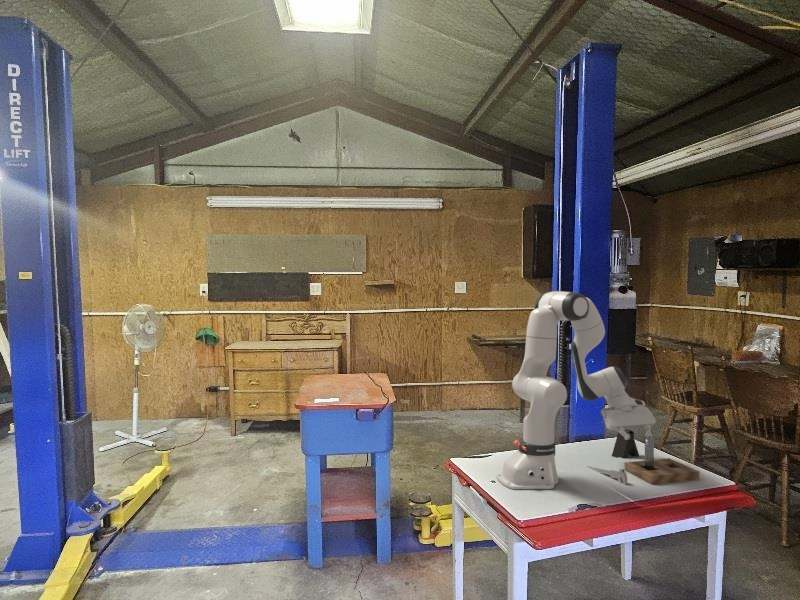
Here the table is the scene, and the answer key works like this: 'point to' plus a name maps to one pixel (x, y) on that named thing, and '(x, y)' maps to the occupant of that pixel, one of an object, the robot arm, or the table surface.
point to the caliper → (613, 474)
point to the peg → (649, 453)
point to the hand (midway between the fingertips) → (639, 438)
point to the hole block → (662, 471)
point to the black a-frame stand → (625, 446)
